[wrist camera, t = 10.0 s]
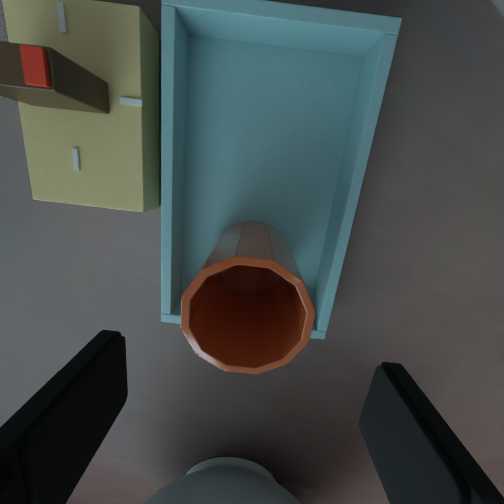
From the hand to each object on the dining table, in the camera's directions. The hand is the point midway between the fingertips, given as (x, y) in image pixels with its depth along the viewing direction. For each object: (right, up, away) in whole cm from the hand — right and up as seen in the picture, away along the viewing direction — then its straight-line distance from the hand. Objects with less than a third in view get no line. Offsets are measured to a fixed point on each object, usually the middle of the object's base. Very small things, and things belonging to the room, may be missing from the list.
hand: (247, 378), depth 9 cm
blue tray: (+1, +9, +11) cm, 15 cm away
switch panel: (-11, +15, +10) cm, 21 cm away
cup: (0, +4, +12) cm, 13 cm away
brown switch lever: (-11, +15, +6) cm, 20 cm away
